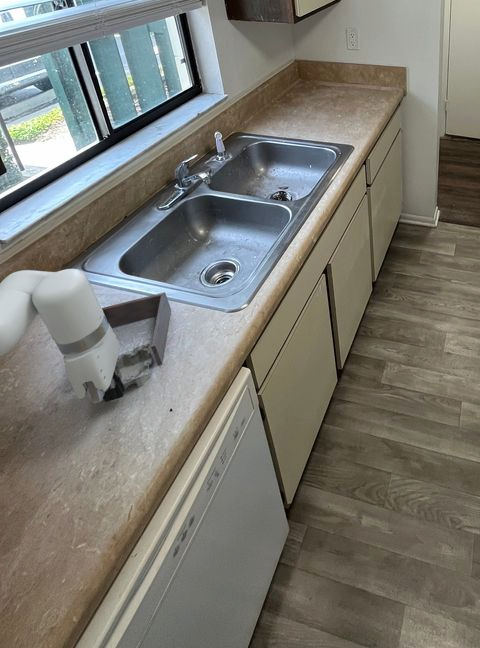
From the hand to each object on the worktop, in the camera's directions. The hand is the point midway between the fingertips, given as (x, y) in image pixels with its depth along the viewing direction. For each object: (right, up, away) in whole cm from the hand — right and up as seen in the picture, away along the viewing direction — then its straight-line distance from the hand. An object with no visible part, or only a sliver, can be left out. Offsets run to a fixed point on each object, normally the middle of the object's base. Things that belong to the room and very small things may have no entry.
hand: (115, 395), depth 85 cm
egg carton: (-2, 0, +6) cm, 6 cm away
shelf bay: (-5, +3, +12) cm, 13 cm away
